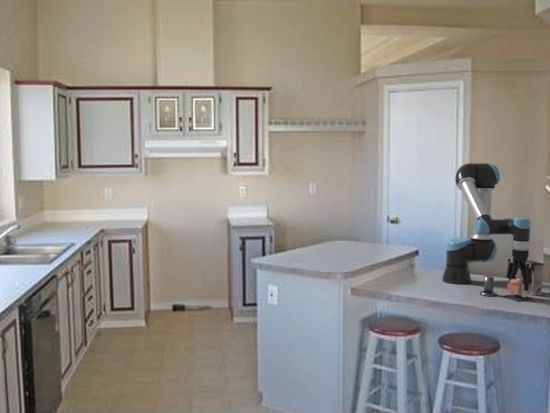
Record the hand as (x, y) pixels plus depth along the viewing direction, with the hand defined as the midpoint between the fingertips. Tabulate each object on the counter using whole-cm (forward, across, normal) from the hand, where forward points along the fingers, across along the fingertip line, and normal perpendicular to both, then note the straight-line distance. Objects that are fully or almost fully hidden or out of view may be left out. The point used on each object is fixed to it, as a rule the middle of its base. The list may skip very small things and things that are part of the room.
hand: (518, 295), depth 316 cm
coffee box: (+2, -6, +14) cm, 15 cm away
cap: (-1, 0, 0) cm, 1 cm away
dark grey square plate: (+2, 0, 0) cm, 2 cm away
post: (+2, -11, -9) cm, 14 cm away
